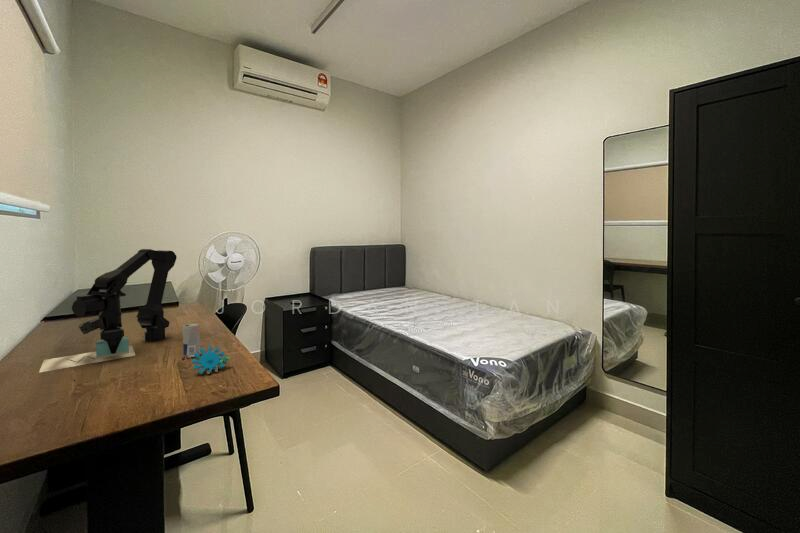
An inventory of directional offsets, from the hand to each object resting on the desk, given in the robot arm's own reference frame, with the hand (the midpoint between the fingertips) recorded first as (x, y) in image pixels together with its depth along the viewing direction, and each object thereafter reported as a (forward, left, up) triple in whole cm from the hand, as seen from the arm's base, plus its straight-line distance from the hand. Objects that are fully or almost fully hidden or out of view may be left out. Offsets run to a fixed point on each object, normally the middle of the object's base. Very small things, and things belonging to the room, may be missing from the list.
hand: (112, 351), depth 122 cm
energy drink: (-22, +17, -2) cm, 28 cm away
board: (+6, 0, -2) cm, 6 cm away
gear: (-24, +37, -2) cm, 44 cm away
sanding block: (0, 0, -1) cm, 1 cm away
